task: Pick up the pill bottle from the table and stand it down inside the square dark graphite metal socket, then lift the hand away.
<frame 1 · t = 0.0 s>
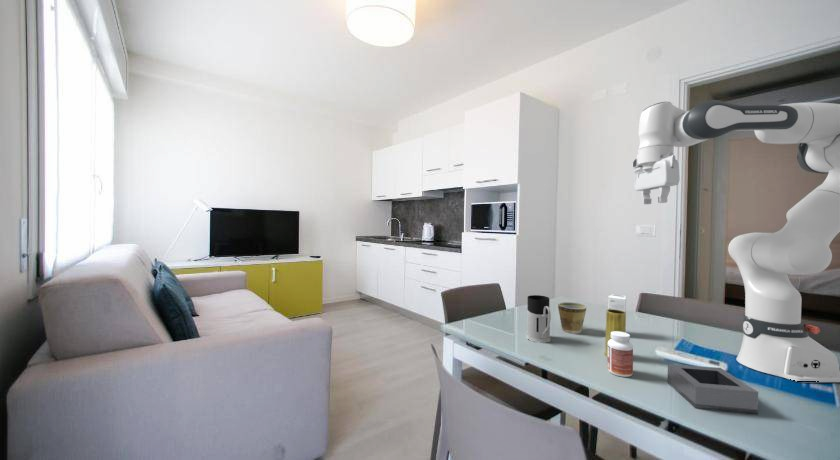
hand: (654, 203, 100), 48 cm above the table, tool pointing down, fingers open, 8 cm apart
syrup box: (616, 334, 124), on the table
ceramic cup: (570, 330, 129), on the table
vase: (615, 356, 104), on the table
glass holder: (541, 341, 117), on the table
pill bottle: (619, 373, 93), on the table
metal socket: (708, 397, 80), on the table
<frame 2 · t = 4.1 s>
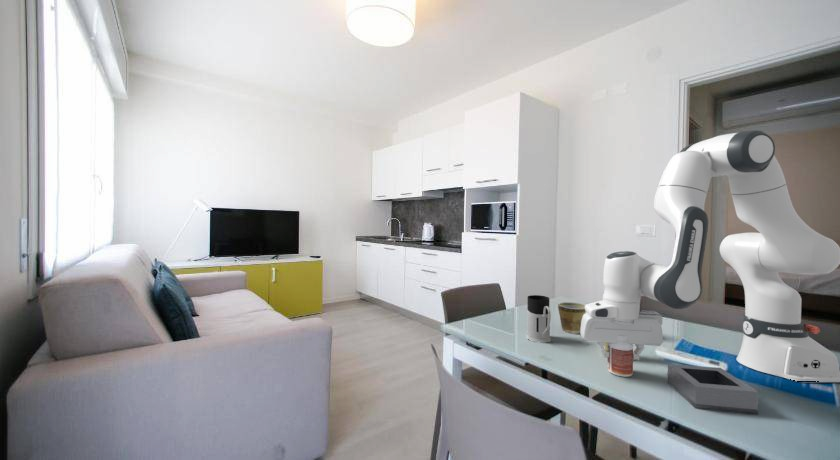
hand: (619, 358, 93), 4 cm above the table, tool pointing down, fingers closed on pill bottle, 6 cm apart
pill bottle: (619, 373, 93), on the table, touching gripper
everything else where it was.
when the fingers open (7 cm above the table, at t = 12.1 s): pill bottle drops 1 cm, resting on metal socket.
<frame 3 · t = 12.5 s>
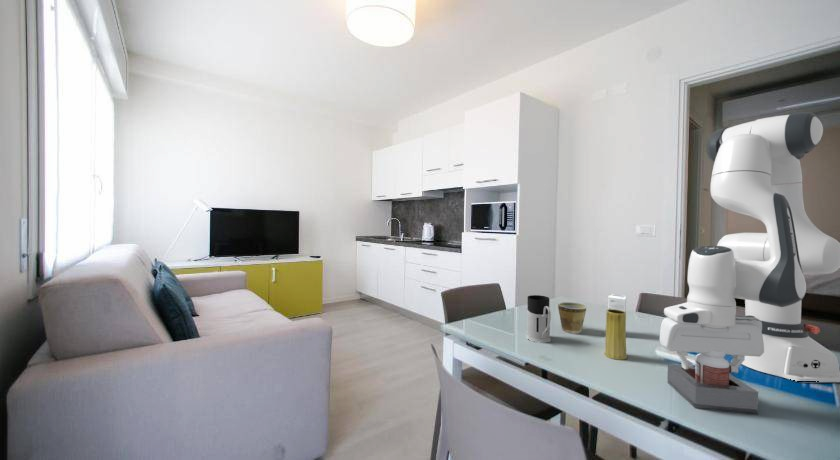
hand: (709, 370, 80), 7 cm above the table, tool pointing down, fingers open, 8 cm apart
pill bottle: (711, 393, 80), point 1 cm above the table, touching metal socket
everything else where it was.
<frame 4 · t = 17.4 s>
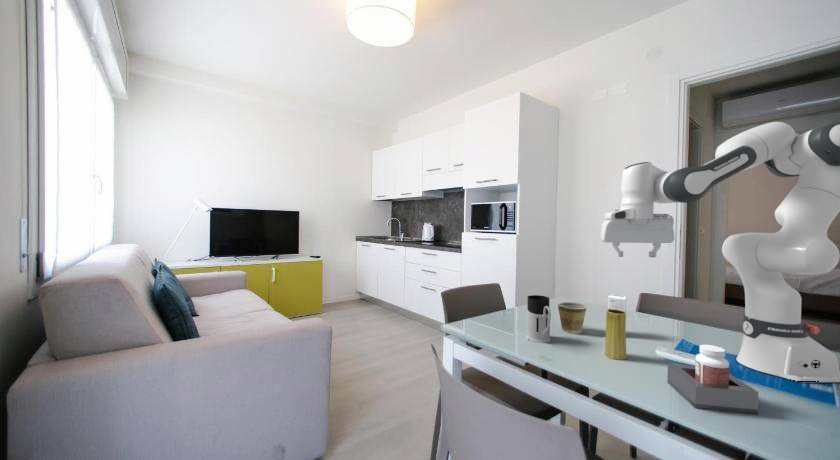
hand: (635, 257, 106), 31 cm above the table, tool pointing down, fingers open, 8 cm apart
nothing on the table moved.
at the end: pill bottle 0.6 cm off-centre on the metal socket, point 0.8 cm above the metal socket's base; pill bottle tilted 0°; the gripper is holding nothing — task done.
